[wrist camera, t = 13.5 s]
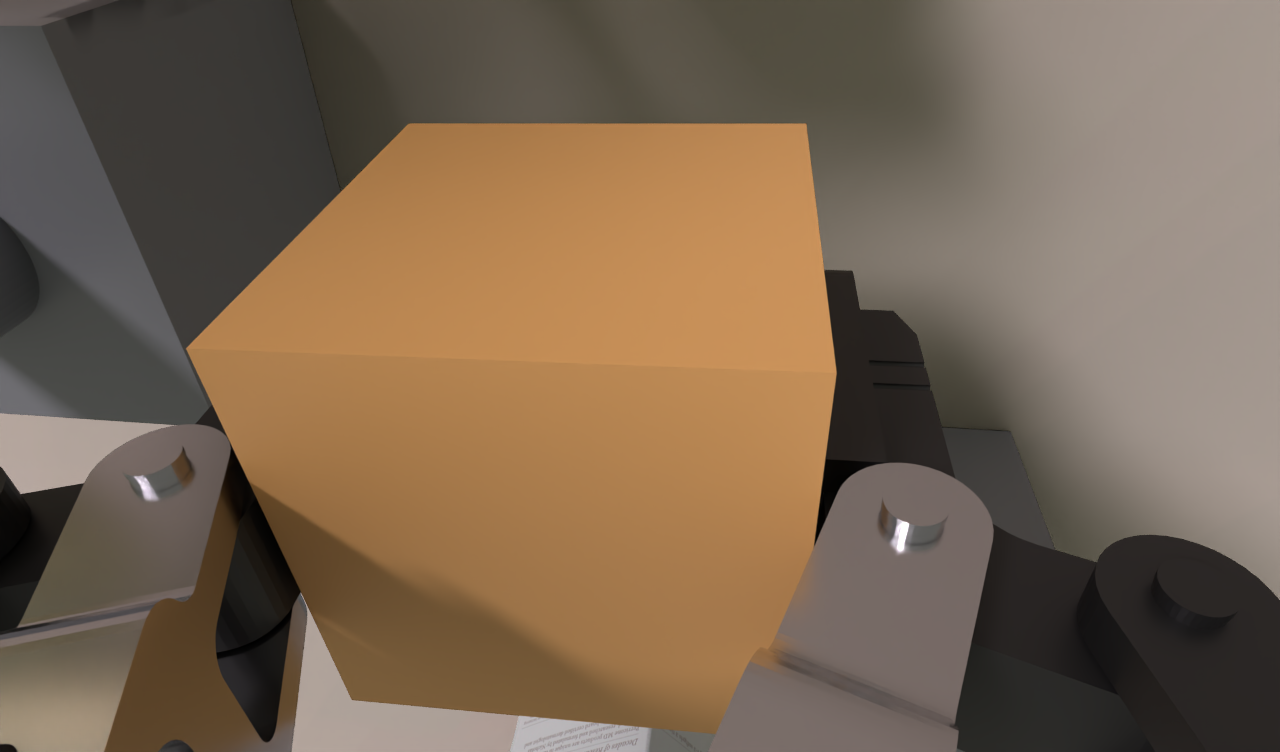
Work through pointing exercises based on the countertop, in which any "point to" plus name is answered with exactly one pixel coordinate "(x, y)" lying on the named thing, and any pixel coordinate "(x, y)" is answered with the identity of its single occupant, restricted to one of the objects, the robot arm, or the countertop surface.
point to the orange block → (543, 414)
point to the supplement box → (602, 737)
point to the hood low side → (997, 481)
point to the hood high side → (143, 191)
